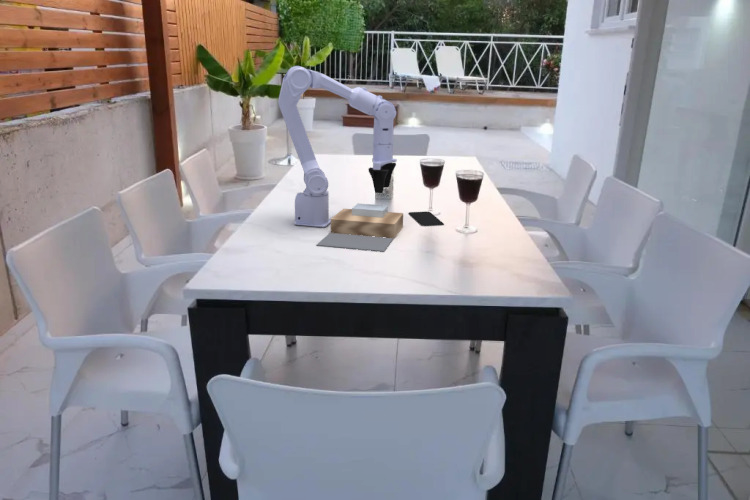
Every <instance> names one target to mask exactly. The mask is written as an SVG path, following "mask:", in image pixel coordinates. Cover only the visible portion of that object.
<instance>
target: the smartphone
mask: <svg viewBox="0 0 750 500" xmlns="http://www.w3.org/2000/svg"><path fill="white" fill-rule="evenodd" d="M408 215H409V216H410V218H411V219H412V220H414V221H415V222H416V223H417V224H418V225H419V226H420V227H437V226H438V227H439V226H445V223H443V222H442V220H441V219H439V218H438V217H437V216H436V215H435V214H434V213H432V212H431V211H410V212H408Z"/></svg>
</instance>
